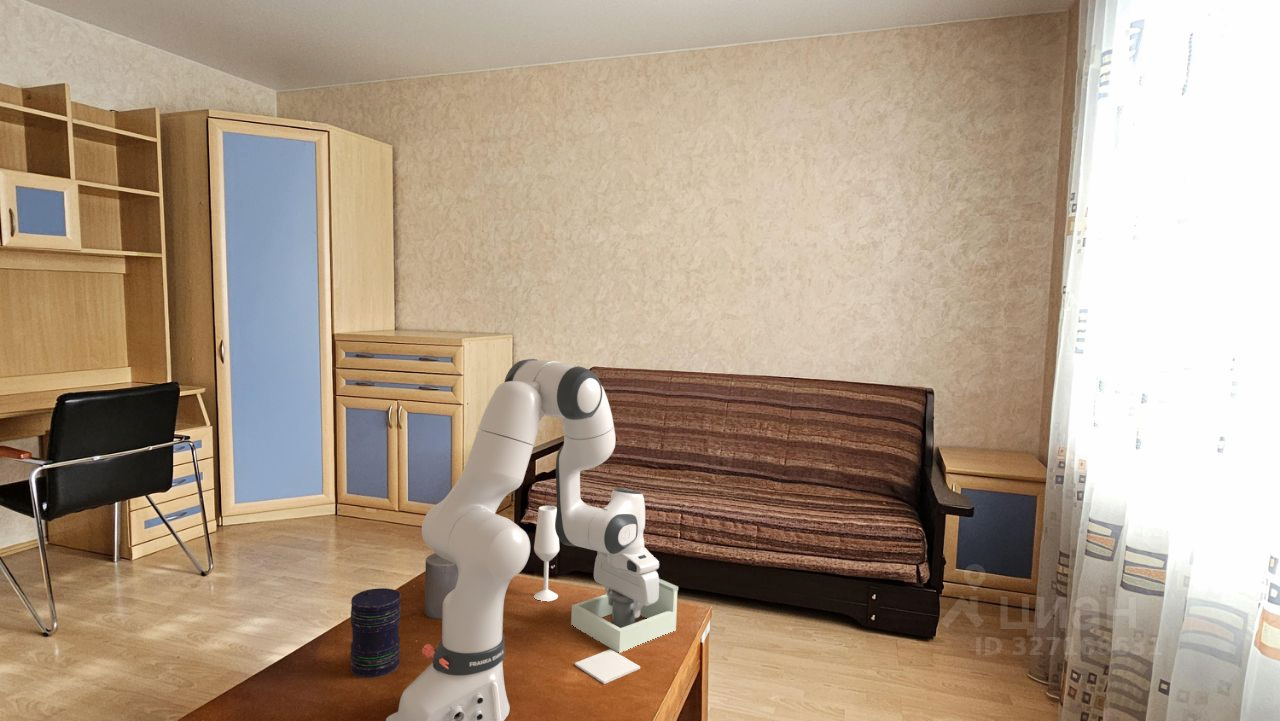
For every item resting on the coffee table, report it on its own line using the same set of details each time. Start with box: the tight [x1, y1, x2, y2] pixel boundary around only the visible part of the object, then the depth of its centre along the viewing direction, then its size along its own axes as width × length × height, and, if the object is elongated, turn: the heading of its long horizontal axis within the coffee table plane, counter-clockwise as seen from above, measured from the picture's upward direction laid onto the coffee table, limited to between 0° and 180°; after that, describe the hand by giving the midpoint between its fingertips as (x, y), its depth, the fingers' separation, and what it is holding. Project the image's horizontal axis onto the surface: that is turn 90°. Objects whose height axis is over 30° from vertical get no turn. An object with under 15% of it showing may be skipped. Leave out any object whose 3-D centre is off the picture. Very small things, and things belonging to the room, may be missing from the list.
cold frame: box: [570, 578, 679, 654], centre depth 170 cm, size 18×18×11 cm
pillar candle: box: [424, 552, 459, 620], centre depth 176 cm, size 10×10×15 cm
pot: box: [611, 590, 636, 628], centre depth 170 cm, size 6×6×9 cm
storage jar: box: [349, 587, 401, 679], centre depth 148 cm, size 10×10×15 cm
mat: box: [574, 648, 641, 685], centre depth 152 cm, size 10×10×1 cm
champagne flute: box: [533, 505, 561, 602], centre depth 187 cm, size 7×7×24 cm
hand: (623, 610), depth 170 cm, fingers open, 7 cm apart
